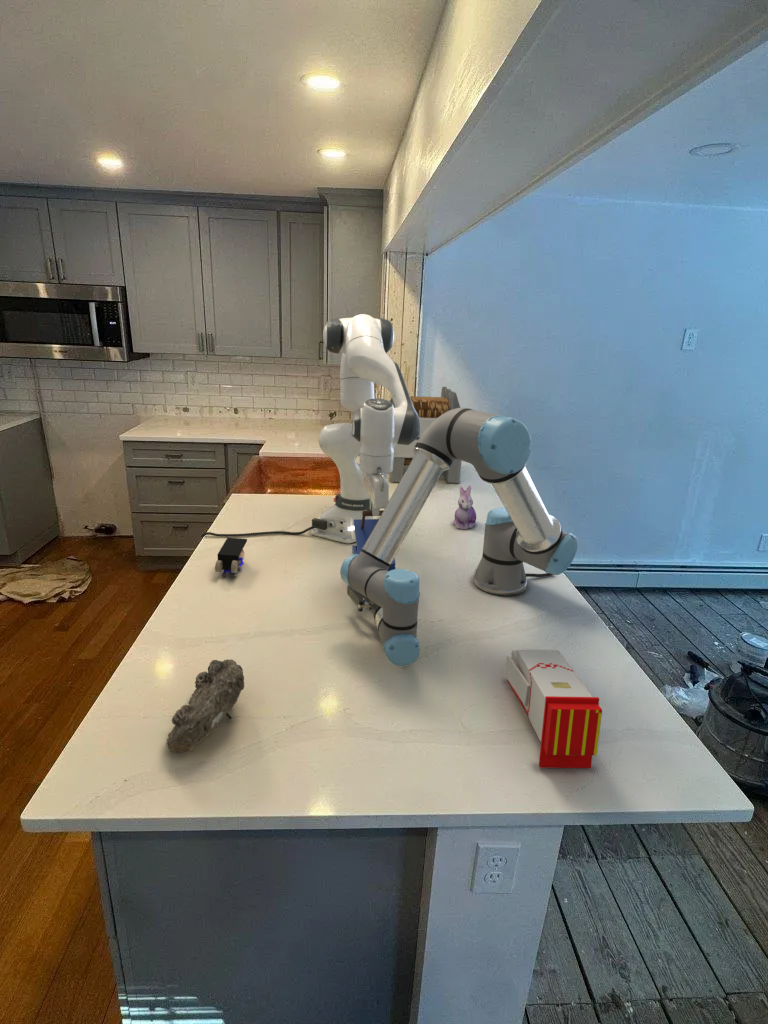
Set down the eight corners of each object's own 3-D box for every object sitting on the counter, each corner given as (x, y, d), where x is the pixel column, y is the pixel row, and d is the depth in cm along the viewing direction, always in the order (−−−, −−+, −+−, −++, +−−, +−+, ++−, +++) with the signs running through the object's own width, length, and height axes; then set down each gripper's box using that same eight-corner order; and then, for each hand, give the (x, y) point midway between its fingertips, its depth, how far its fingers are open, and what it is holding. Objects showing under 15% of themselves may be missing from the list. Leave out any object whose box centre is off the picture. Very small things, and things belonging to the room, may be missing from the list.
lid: (353, 521, 159) (355, 502, 153) (386, 521, 160) (390, 502, 155) (359, 567, 148) (362, 548, 143) (395, 565, 150) (399, 547, 144)
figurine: (462, 531, 204) (465, 492, 199) (446, 522, 213) (449, 483, 207) (483, 528, 208) (487, 489, 203) (467, 518, 217) (470, 481, 212)
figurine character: (238, 584, 162) (249, 557, 175) (236, 562, 158) (247, 536, 172) (215, 584, 161) (227, 556, 175) (212, 561, 158) (225, 535, 171)
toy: (554, 631, 124) (612, 705, 95) (548, 687, 127) (603, 776, 98) (499, 630, 124) (540, 704, 94) (495, 686, 126) (533, 775, 97)
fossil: (192, 660, 117) (244, 628, 112) (224, 691, 120) (276, 661, 115) (142, 746, 98) (202, 712, 93) (182, 779, 101) (242, 748, 96)
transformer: (382, 463, 289) (386, 382, 275) (445, 464, 293) (451, 384, 279) (390, 482, 257) (394, 392, 243) (460, 483, 261) (468, 394, 247)
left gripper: (396, 474, 138) (393, 527, 143) (381, 453, 157) (379, 500, 162) (370, 474, 137) (368, 527, 142) (359, 453, 156) (357, 500, 161)
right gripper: (342, 633, 132) (333, 588, 153) (435, 628, 136) (414, 585, 157) (343, 605, 129) (334, 563, 150) (437, 600, 133) (415, 560, 154)
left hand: (374, 513), depth 152 cm, fingers closed
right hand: (374, 574), depth 153 cm, fingers closed on chest, 9 cm apart
